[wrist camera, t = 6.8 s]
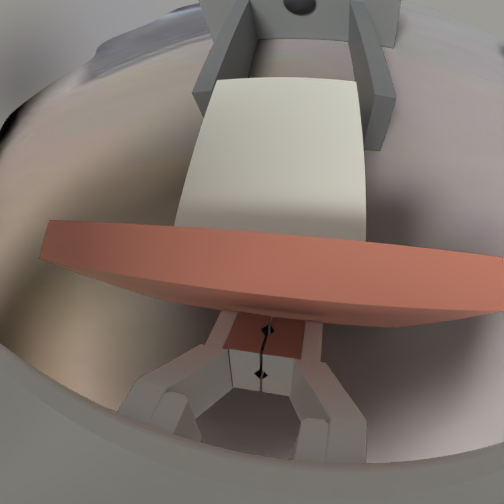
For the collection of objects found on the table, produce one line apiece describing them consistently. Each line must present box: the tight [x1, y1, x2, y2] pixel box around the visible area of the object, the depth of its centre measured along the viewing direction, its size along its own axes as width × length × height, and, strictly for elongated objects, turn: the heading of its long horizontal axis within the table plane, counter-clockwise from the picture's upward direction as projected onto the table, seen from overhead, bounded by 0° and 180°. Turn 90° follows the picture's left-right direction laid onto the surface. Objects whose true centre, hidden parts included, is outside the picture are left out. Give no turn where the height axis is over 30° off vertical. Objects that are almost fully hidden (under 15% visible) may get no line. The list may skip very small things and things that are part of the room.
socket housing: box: [192, 0, 401, 151], centre depth 16 cm, size 18×18×8 cm
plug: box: [39, 77, 504, 328], centre depth 12 cm, size 12×12×10 cm
